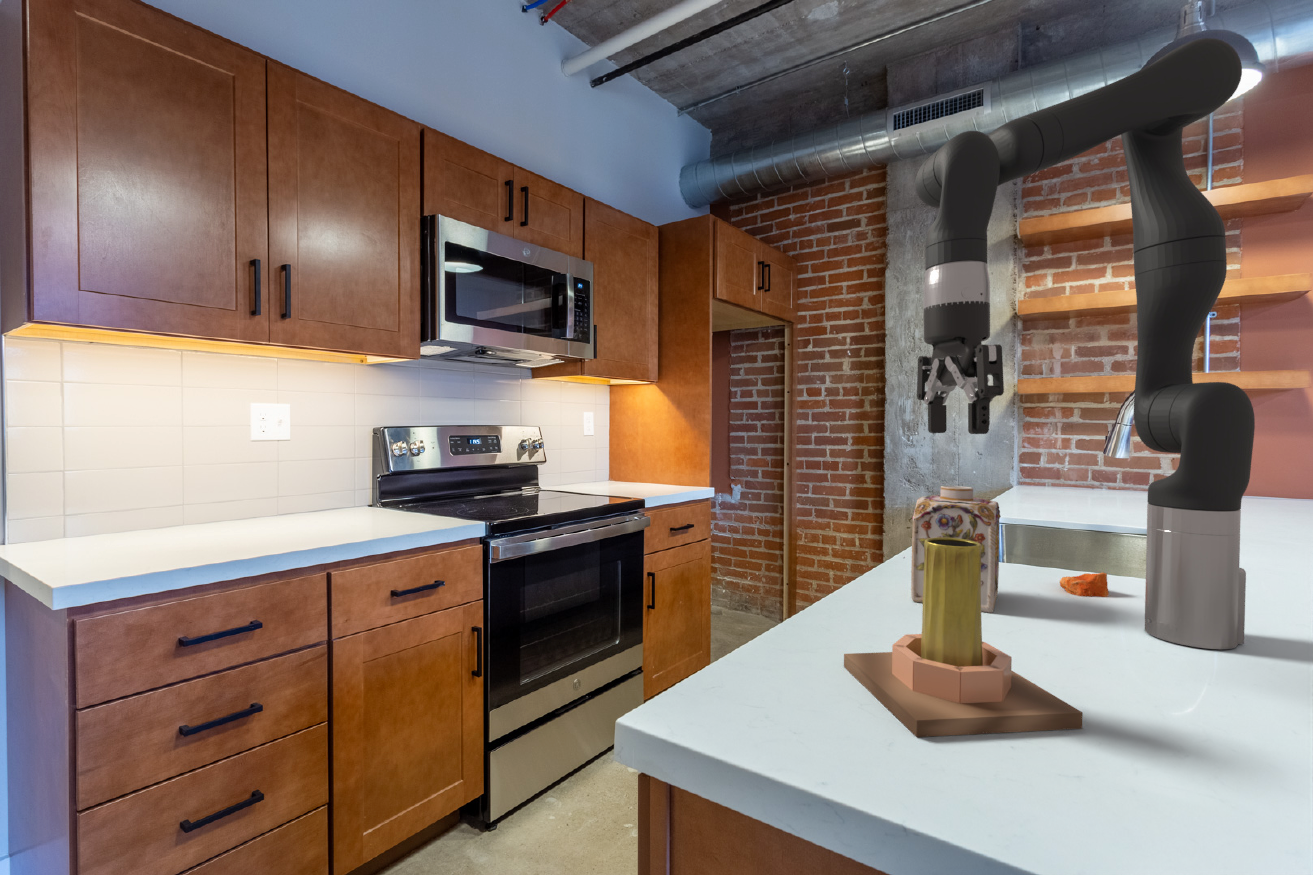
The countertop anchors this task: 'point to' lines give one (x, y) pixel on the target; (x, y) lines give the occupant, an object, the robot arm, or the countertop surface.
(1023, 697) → the board
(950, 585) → the vase
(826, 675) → the countertop surface
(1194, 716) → the countertop surface
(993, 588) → the decorative jar
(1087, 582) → the rock
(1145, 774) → the countertop surface
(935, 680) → the holder ring
